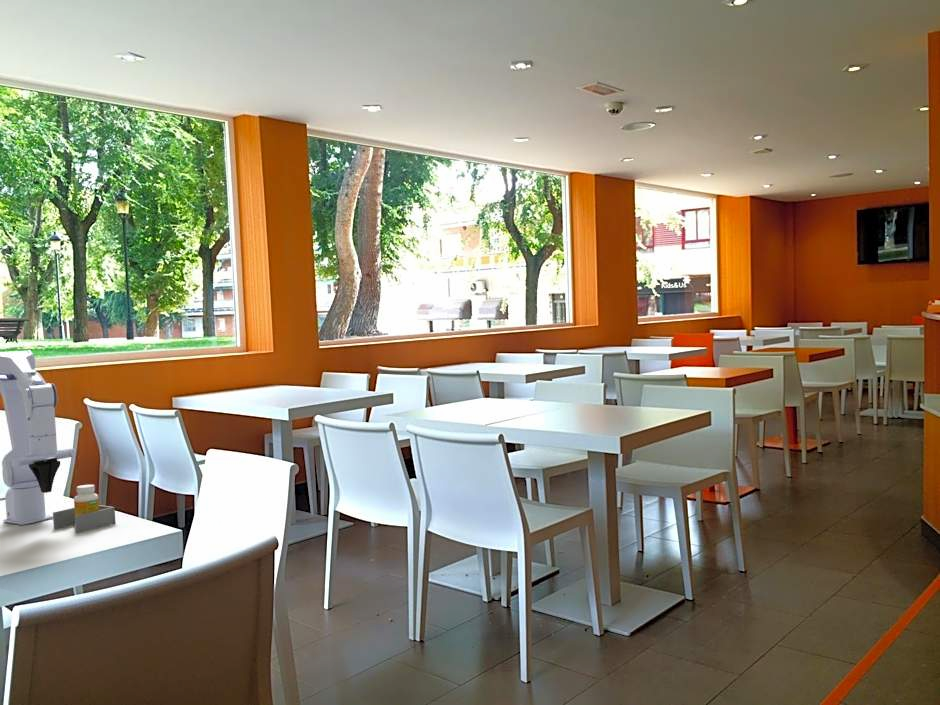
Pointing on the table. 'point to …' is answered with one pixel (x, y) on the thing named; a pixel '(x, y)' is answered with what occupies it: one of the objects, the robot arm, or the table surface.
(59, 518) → the crate
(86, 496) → the supplement bottle
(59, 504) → the table surface
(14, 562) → the table surface
